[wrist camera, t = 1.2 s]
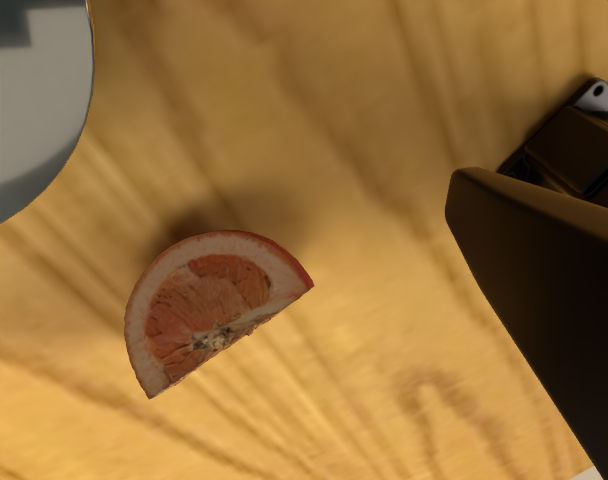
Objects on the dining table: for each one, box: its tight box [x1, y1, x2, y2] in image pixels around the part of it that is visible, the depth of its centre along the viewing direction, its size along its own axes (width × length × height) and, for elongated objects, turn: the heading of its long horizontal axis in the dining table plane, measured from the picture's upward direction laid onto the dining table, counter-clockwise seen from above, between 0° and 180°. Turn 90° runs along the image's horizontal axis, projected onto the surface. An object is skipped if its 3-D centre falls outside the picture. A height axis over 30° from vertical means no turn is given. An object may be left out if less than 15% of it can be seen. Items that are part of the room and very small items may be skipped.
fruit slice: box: [124, 230, 314, 399], centre depth 24 cm, size 8×7×5 cm
